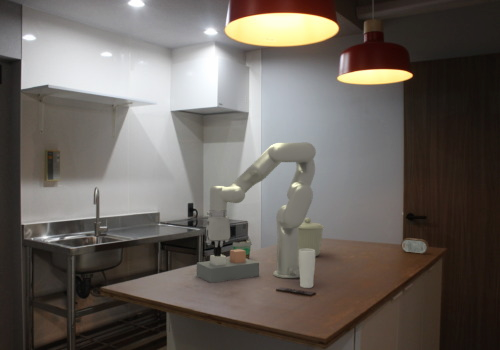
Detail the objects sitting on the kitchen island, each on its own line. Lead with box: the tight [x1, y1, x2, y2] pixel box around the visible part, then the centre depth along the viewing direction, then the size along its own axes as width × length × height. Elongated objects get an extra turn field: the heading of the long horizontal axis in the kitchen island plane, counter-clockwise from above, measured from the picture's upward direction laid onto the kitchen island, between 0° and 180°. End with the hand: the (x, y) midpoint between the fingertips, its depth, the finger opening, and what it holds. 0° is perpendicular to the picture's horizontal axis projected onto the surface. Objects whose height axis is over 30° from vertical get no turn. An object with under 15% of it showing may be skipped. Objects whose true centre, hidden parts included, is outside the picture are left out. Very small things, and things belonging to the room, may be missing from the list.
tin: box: [400, 237, 430, 255], centre depth 257 cm, size 15×3×8 cm, turn 58°
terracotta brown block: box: [229, 249, 246, 263], centre depth 201 cm, size 5×5×6 cm
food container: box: [232, 239, 252, 259], centre depth 233 cm, size 12×6×10 cm, turn 143°
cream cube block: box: [209, 254, 227, 266], centre depth 196 cm, size 5×5×6 cm
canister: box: [298, 217, 325, 257], centre depth 247 cm, size 18×18×21 cm
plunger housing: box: [196, 258, 260, 284], centre depth 199 cm, size 14×24×6 cm, turn 121°
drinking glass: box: [298, 249, 316, 289], centre depth 181 cm, size 7×7×15 cm
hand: (217, 255), depth 196 cm, fingers closed
